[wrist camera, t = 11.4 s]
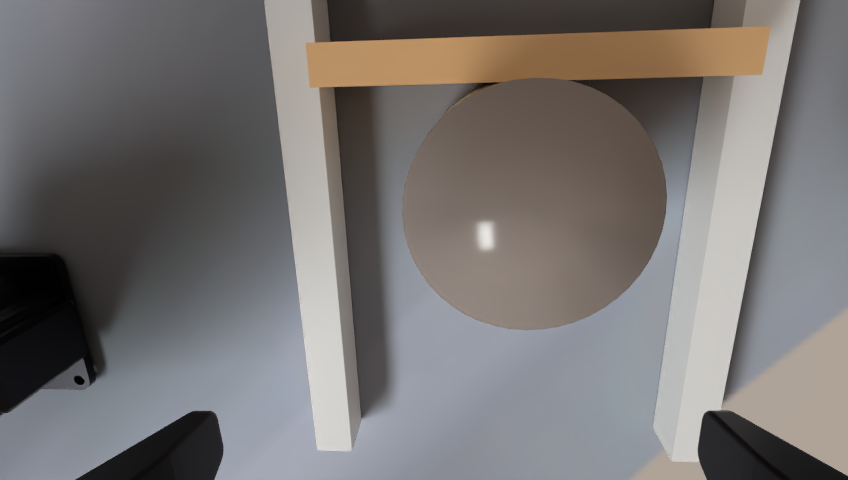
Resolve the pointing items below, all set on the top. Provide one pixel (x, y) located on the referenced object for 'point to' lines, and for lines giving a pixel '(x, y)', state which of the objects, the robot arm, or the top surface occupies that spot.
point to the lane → (698, 249)
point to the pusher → (540, 57)
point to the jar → (534, 203)
